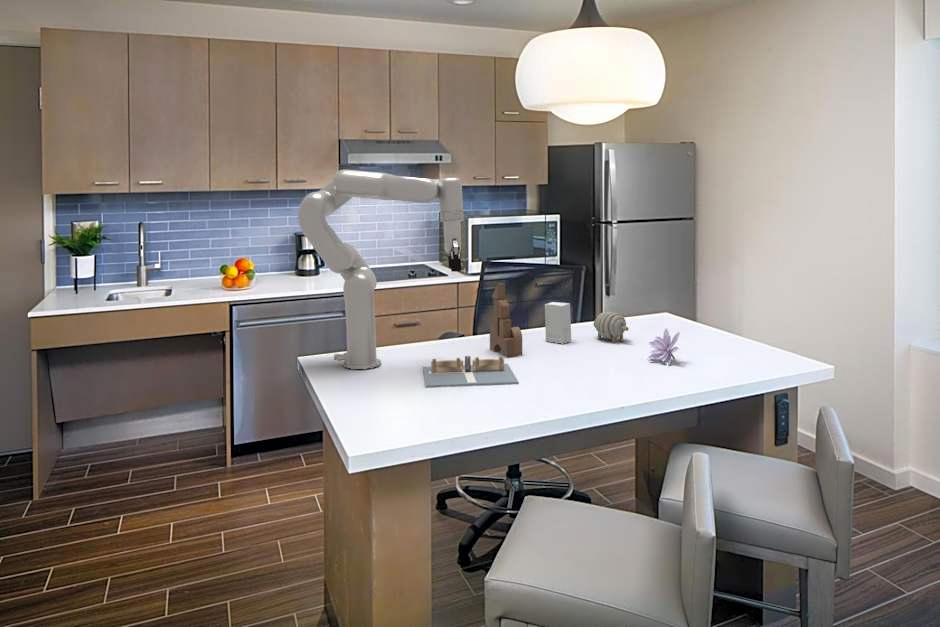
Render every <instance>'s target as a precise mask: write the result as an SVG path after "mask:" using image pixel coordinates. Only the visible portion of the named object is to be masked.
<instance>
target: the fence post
mask: <svg viewBox="0 0 940 627" xmlns="http://www.w3.org/2000/svg"><path fill="white" fill-rule="evenodd" d="M471 360H472V359H471V355H465V356H464V365H465V372H471V365H472V364H471V362H472V361H471Z"/></svg>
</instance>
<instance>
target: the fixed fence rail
mask: <svg viewBox="0 0 940 627" xmlns="http://www.w3.org/2000/svg"><path fill="white" fill-rule="evenodd" d="M430 364H431V365H430V366H431V372H460V371H463V365H464V360H463V359H461V358H460V357H456V359H455V360H454V359H452V360H437V359H436V358H432V360H431V361H430Z"/></svg>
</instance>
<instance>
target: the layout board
mask: <svg viewBox="0 0 940 627" xmlns="http://www.w3.org/2000/svg"><path fill="white" fill-rule="evenodd" d="M422 369H423V370H422V371H423V378H424V386H426V387H425V388H441V386H451V387H470V386H471V387H473V385H476V386H493V385H494V386H497V385H519V383H520V382H519V381H518V380H519V379H518V378H517V377H516V375H515V374H514V371H513V370H512V369H511V366H510V365H509V363H504V370H485V371H473V364H471V372H465V364H463V371H460V372H431V365H430V366H422Z"/></svg>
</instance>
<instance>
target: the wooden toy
mask: <svg viewBox="0 0 940 627" xmlns="http://www.w3.org/2000/svg"><path fill="white" fill-rule="evenodd" d="M491 298H492V299H493V321H492V323H491V324H489V350H490V351H492V352H499V351H500V350H501V351H500V352H501V355H502V357H505V358H512V357H513V356H514V357H520V356H519V355H521V356H523V333H522V331H521V329H520V327H519V326H513V327H512V320H511V319H510V305H509V302H508V300H507V299H506V283H505V282H500V283H497V285H496V288H495V289H494V291H493V293H492V295H491Z"/></svg>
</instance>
